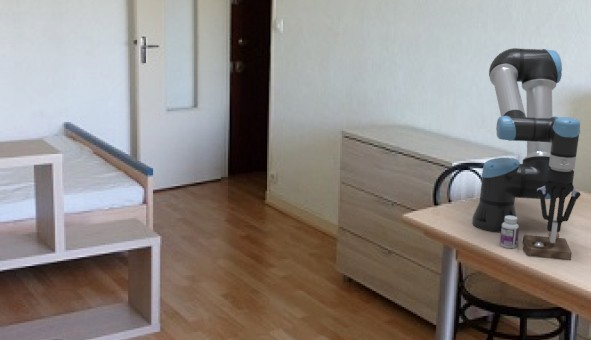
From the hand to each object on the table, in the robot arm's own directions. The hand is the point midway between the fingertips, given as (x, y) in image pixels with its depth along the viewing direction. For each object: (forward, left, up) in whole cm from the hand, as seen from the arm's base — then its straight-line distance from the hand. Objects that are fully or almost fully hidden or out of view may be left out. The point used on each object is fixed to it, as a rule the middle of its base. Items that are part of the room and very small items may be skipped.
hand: (552, 241), depth 237 cm
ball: (-4, 0, -2) cm, 5 cm away
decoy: (+1, +6, 0) cm, 6 cm away
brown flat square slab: (-1, +1, -4) cm, 4 cm away
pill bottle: (-13, +3, -4) cm, 14 cm away
